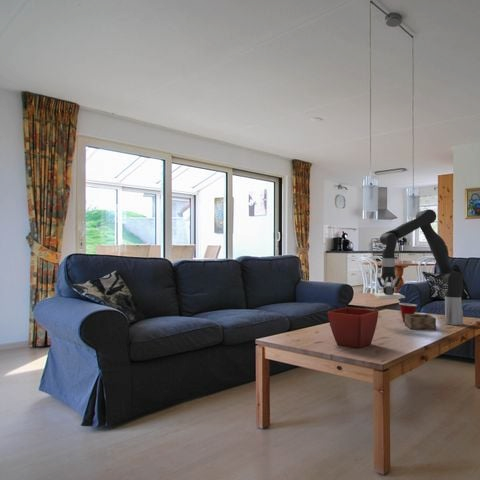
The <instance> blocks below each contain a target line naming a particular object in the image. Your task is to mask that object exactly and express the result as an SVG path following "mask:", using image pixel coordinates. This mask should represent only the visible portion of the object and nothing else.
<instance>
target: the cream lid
mask: <svg viewBox="0 0 480 480" xmlns="http://www.w3.org/2000/svg"><path fill="white" fill-rule="evenodd" d="M373 295H374V296H375V297H376V298H378V299H382V300H401V299H406V296H405V295H403V294H401V293H399V292H397V293H395V292H394V293H393V288H392V286H391V285H386V294H384V292H374V293H373Z"/></svg>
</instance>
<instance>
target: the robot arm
mask: <svg viewBox="0 0 480 480" xmlns="http://www.w3.org/2000/svg"><path fill="white" fill-rule="evenodd" d="M436 221H437V213H436V211H435V210H433V209H430V208H429V209H423V210H421V211H418V212H416V215H415V218H414V219H412V220H409V221H407V222H405V223H403V224H400V225H398V226H397V227H395V228H393V229H392V230H388V231H385V232H383V234H381V235H380V236H379V241H380V244H381V245H385V248H384V249H382V251H381V252H382V253H381V255H382V257H381V258H382V260H381V276H378V277H376V280H377V281H378V285H379V286H380V287H381V288H382V293H384V294H386V286H387V285H388V283H390V286H392V288H393V293H395V288H397V287H399V283H400V281H401V278H400V277H398V276H397V275H396V260H395V250H396V246H397V242H398V240H399V239H400V240H401V239H402V238H404V237H405V236H407V235H409V234H411V233H412V232H414V231H416V230H418V229H420V230H421V232H422V234H423V236H424V238H425V240H426V242H427V244H428V247H429V249H430V251H431V254H432V255H433V257H434V260H435V262H436V264H437V266H438V269H439V272H440V276H441V278H442V281H443V283H444V284H445V285H447V290H446V291H444V315H445V317H444V318H445V319H444V323H445V325H449V324H450V326H464V312H463V311H464V310H463V308H462V294H463V288H464V286H463V285H464V280H463V279H464V278H463V274H461V273H460V272H458V271H454V270H453V268H452V265H451V263H450V257H449V249H448V246H447V245H446V242H445V241H444V239H443V238H442V237H441V236H440V235H439V234H438V233H437V232H436V231H435V230H434V228H433V226H432V224H433V223H434V222H436ZM382 280H383V282H382Z"/></svg>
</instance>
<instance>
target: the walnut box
mask: <svg viewBox="0 0 480 480" xmlns="http://www.w3.org/2000/svg"><path fill="white" fill-rule="evenodd" d="M404 326H405V327H407V328H408V329H410V330H414V331H418V330H419V331H436V330H437V318H436V317H434V316H433V315H430V314H429V313H427V314H425V313H414V314H405V322H404Z"/></svg>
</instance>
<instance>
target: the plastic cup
mask: <svg viewBox="0 0 480 480" xmlns="http://www.w3.org/2000/svg"><path fill="white" fill-rule="evenodd" d="M398 304H399V308H400V312H401V318H402V322H403V323H405V314H416V313H415V311H416V308H417V306H418V305H417V304H415V303H414V304H413V303H407V302H398Z"/></svg>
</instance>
